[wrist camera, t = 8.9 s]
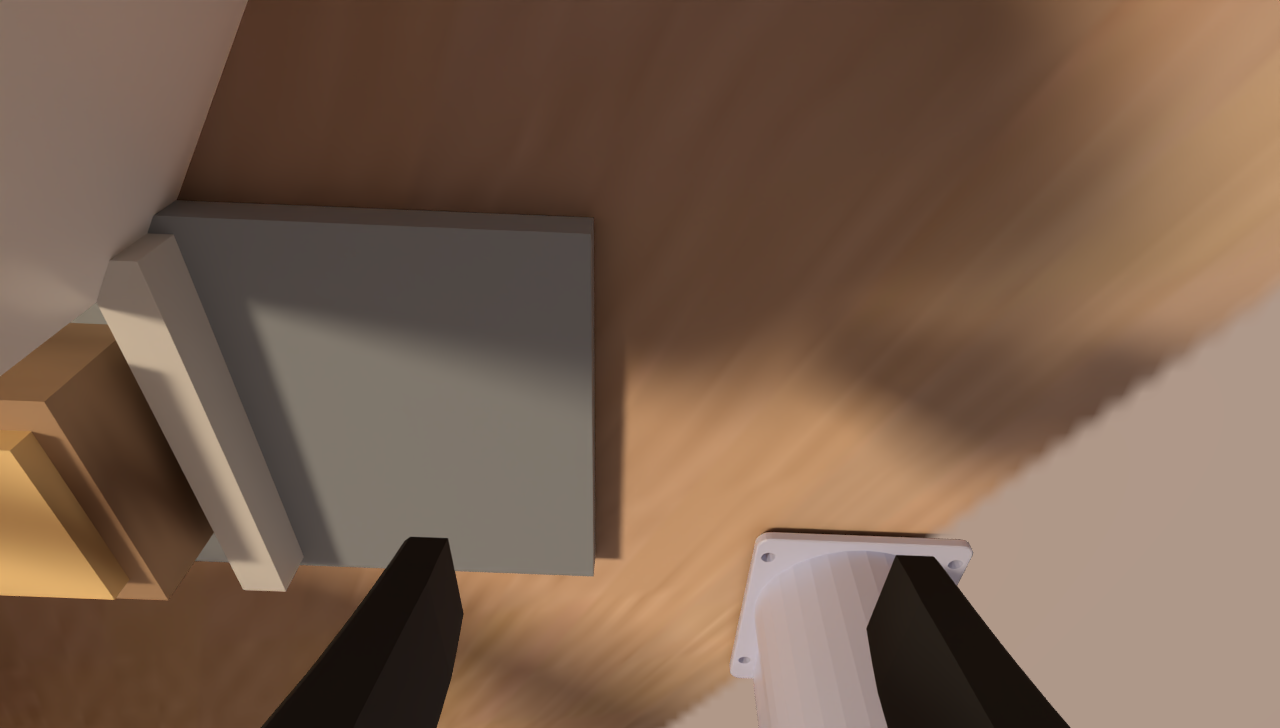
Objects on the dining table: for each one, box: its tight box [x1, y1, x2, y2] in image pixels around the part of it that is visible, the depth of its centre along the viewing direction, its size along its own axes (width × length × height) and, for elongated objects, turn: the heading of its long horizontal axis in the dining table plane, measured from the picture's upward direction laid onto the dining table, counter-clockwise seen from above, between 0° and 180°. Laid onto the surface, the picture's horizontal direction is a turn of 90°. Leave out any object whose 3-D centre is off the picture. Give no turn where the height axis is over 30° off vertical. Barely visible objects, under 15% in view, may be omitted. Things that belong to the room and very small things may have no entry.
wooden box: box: [0, 323, 214, 600], centre depth 20 cm, size 8×5×4 cm, turn 178°
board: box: [70, 200, 595, 592], centre depth 21 cm, size 14×21×3 cm, turn 88°
